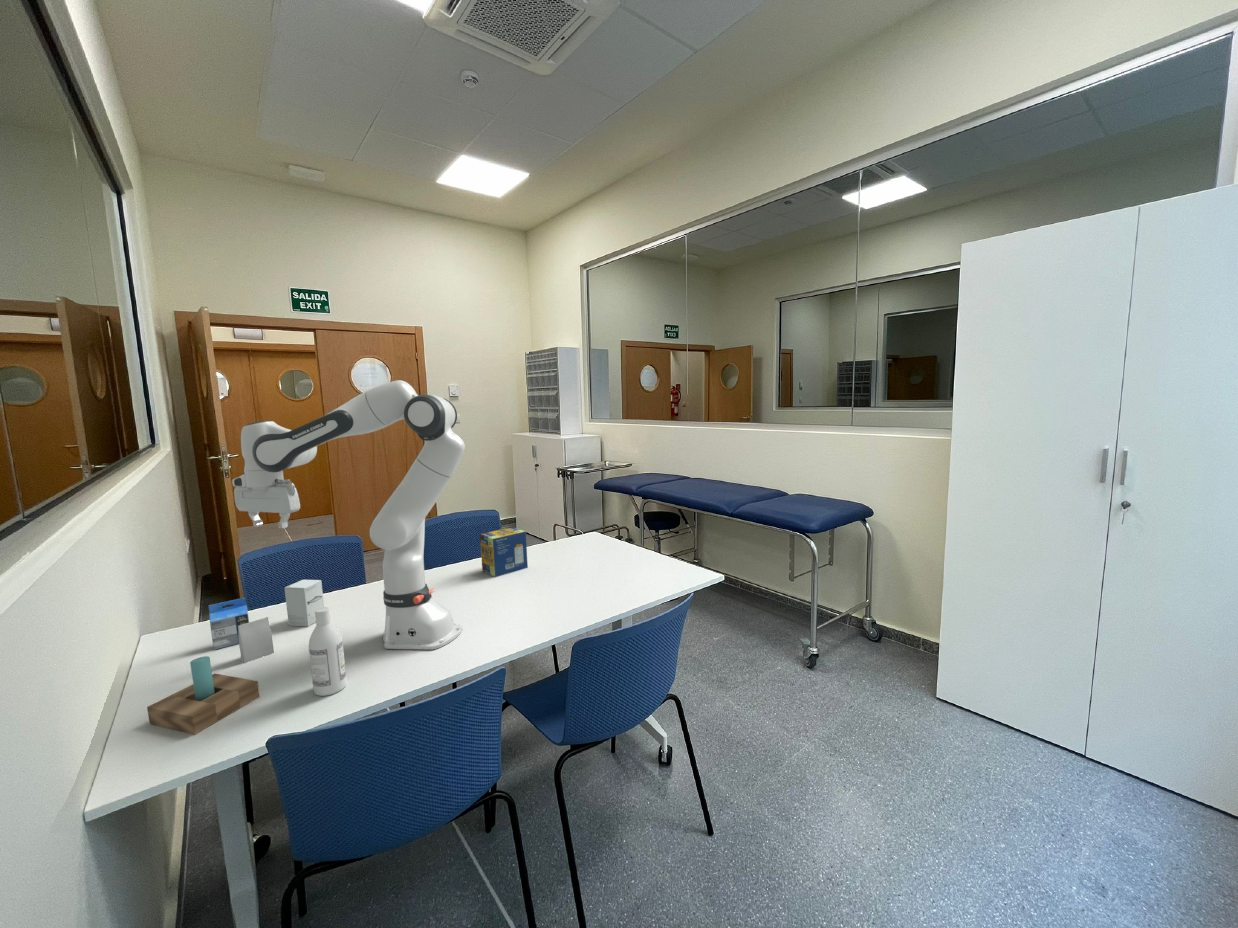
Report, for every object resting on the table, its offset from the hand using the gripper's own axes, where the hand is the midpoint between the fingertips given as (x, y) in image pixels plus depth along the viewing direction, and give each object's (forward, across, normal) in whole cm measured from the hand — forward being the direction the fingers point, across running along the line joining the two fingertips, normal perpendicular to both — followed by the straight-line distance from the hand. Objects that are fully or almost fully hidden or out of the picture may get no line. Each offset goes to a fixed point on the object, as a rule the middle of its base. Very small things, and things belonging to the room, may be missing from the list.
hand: (270, 527), depth 144 cm
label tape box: (+34, +14, +5) cm, 37 cm away
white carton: (+34, -1, +9) cm, 36 cm away
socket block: (+34, -14, +31) cm, 48 cm away
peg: (+34, -14, +31) cm, 48 cm away
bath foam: (+34, -35, +17) cm, 52 cm away
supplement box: (+34, +5, -12) cm, 37 cm away
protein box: (+34, -33, -70) cm, 85 cm away
